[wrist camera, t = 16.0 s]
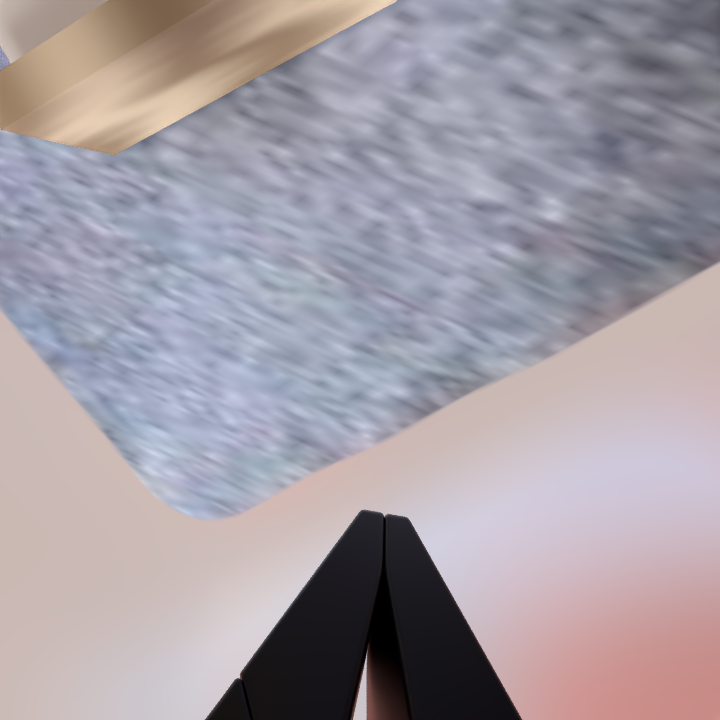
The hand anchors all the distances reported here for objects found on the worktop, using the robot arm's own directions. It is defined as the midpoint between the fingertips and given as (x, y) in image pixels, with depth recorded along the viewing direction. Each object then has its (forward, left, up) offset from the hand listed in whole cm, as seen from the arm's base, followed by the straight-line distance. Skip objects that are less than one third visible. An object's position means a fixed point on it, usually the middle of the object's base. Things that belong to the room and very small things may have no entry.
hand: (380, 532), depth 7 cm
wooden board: (+1, -12, -12) cm, 17 cm away
